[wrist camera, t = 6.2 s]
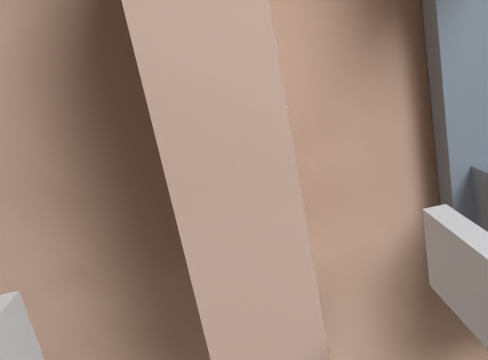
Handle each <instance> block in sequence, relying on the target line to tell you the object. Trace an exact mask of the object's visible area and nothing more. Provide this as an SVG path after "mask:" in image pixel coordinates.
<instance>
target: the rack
mask: <svg viewBox="0 0 488 360" xmlns="http://www.w3.org/2000/svg"><path fill="white" fill-rule="evenodd" d="M422 9H423V20H424V31H425V42H426V53H427V64H428V75H429V86H430V97H431V108H432V119H433V130H434V141H435V151H436V162H437V173H438V184H439V195H440V205H444V204H447V205H448V206H450V207H451V208H453V209H454V210H456V211H457V212H458V213H460V214H461V215H463V216H464V217H466V218H467V219H469V220H470V221H472V222H473V223H475V224H476V225H478V226H479V227H481V228H482V229H484V230H485V231H487V232H488V0H422Z"/></svg>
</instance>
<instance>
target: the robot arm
mask: <svg viewBox="0 0 488 360" xmlns="http://www.w3.org/2000/svg"><path fill="white" fill-rule="evenodd" d="M422 211H423V221H424V231H425V242H426V252H427V262H428V273H429V283H430V286H431V287H432V288H433V289H434V291H435V292H436V293H437V294H438V295H439V296H440V297H441V298H442V299H443V301H444V302H445V303H446V304H447V305H448V306H449V307H450V308H451V309H452V311H453V312H454V313H455V314H456V315H457V316H458V317H459V318H460V319H461V320H462V322H463V323H464V324H465V325H466V326H467V327H468V328H469V329H470V330H471V332H472V333H473V334H474V335H475V336H476V337H477V338H478V339H479V340H480V342H481V343H482V344H483V345H484V346H485V347H486V348H487V349H488V232H487V231H485V230H484V229H482V228H481V227H479V226H478V225H476V224H475V223H473V222H472V221H470V220H469V219H467V218H466V217H464V216H463V215H461V214H460V213H458V212H457V211H456V210H454V209H453V208H451V207H450V206H448V205H447V204H444V205H439V206H434V207H429V208H424V209H422ZM0 360H44V357H43V354H42V352H41V349H40V346H39V344H38V341H37V338H36V335H35V333H34V330H33V327H32V325H31V322H30V319H29V316H28V314H27V311H26V308H25V306H24V303H23V300H22V297H21V295H20V292H19V291H16V292H11V293H6V294H1V295H0Z"/></svg>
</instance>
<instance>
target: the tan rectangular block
mask: <svg viewBox="0 0 488 360" xmlns="http://www.w3.org/2000/svg"><path fill="white" fill-rule="evenodd" d="M121 1H122V5H123V9H124V13H125V17H126V21H127V25H128V29H129V33H130V37H131V41H132V45H133V49H134V53H135V57H136V61H137V65H138V69H139V73H140V77H141V81H142V85H143V89H144V93H145V97H146V101H147V105H148V110H149V114H150V118H151V122H152V126H153V130H154V134H155V138H156V142H157V146H158V150H159V154H160V158H161V162H162V166H163V170H164V174H165V178H166V182H167V186H168V190H169V194H170V198H171V202H172V206H173V210H174V214H175V218H176V222H177V226H178V230H179V234H180V238H181V243H182V247H183V251H184V255H185V259H186V263H187V267H188V271H189V275H190V279H191V283H192V287H193V291H194V295H195V299H196V303H197V307H198V311H199V315H200V319H201V323H202V327H203V331H204V335H205V339H206V343H207V347H208V351H209V355H210V359H211V360H330V354H329V349H328V343H327V337H326V331H325V325H324V319H323V313H322V307H321V302H320V296H319V290H318V284H317V278H316V272H315V266H314V260H313V255H312V249H311V243H310V237H309V231H308V225H307V219H306V214H305V208H304V202H303V196H302V190H301V184H300V178H299V172H298V167H297V161H296V155H295V149H294V143H293V137H292V131H291V126H290V120H289V114H288V108H287V102H286V96H285V90H284V84H283V79H282V73H281V67H280V61H279V55H278V49H277V43H276V37H275V32H274V26H273V20H272V14H271V8H270V2H269V0H121Z"/></svg>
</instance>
